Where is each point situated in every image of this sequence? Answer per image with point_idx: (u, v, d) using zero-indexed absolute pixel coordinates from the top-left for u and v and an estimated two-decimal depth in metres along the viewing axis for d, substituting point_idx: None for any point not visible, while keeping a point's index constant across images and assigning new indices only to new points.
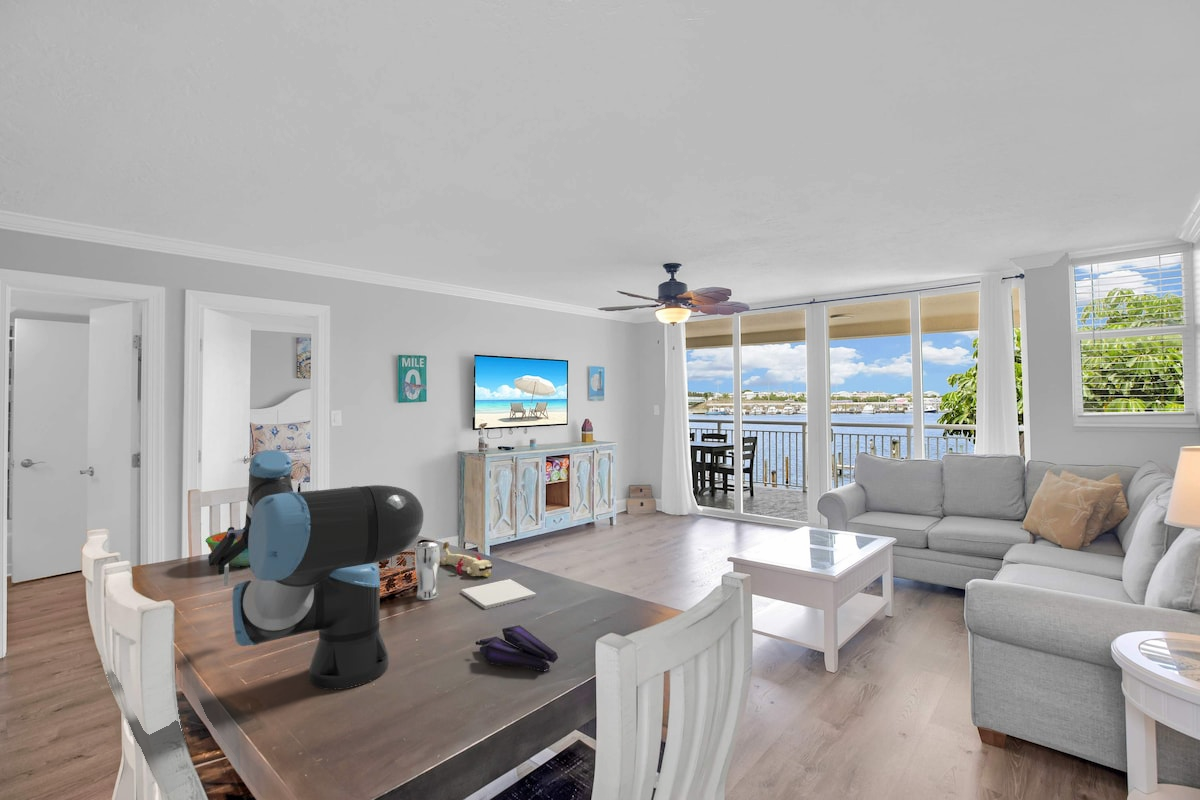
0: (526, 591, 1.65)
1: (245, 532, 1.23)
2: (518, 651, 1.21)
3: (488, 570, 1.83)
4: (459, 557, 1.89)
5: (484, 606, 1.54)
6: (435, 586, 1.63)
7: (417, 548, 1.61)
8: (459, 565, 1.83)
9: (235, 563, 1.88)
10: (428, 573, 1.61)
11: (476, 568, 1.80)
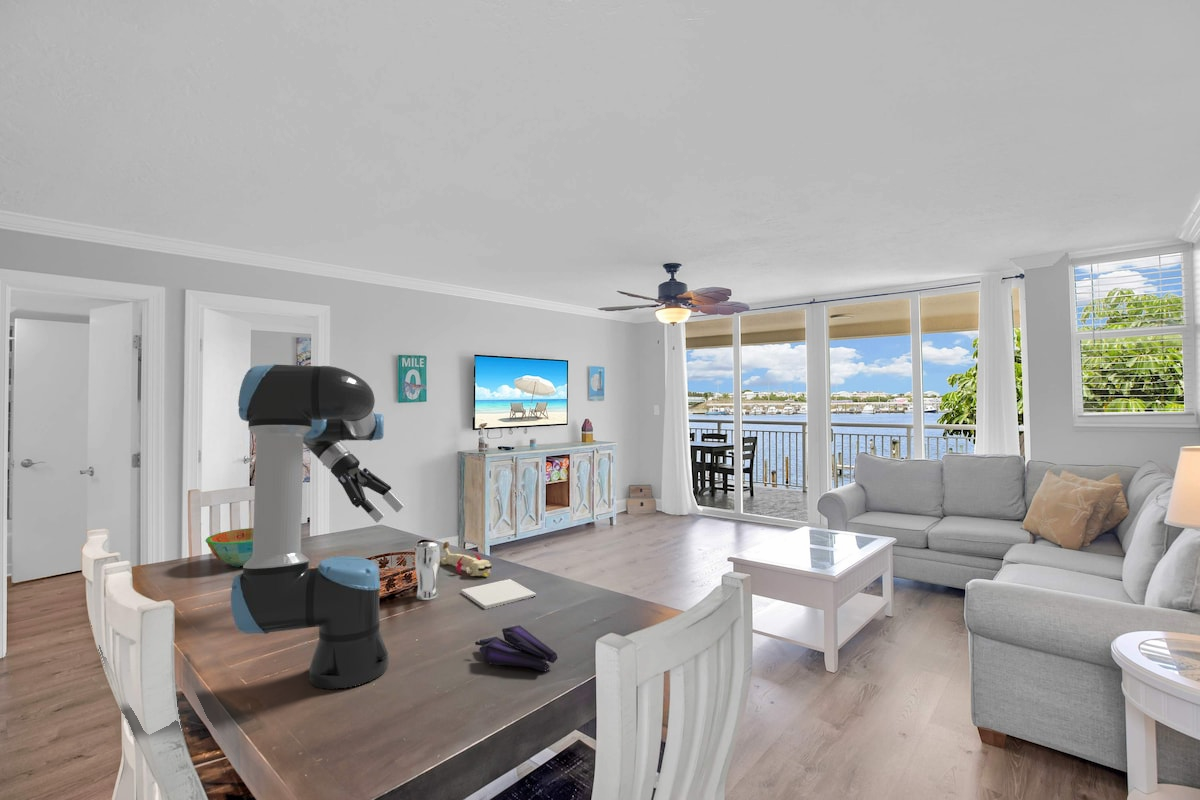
0: (526, 591, 1.65)
1: (347, 473, 1.61)
2: (518, 651, 1.20)
3: (487, 570, 1.83)
4: (459, 557, 1.89)
5: (484, 606, 1.54)
6: (435, 586, 1.63)
7: (417, 548, 1.61)
8: (458, 565, 1.83)
9: (235, 563, 1.88)
10: (428, 573, 1.61)
11: (475, 567, 1.80)
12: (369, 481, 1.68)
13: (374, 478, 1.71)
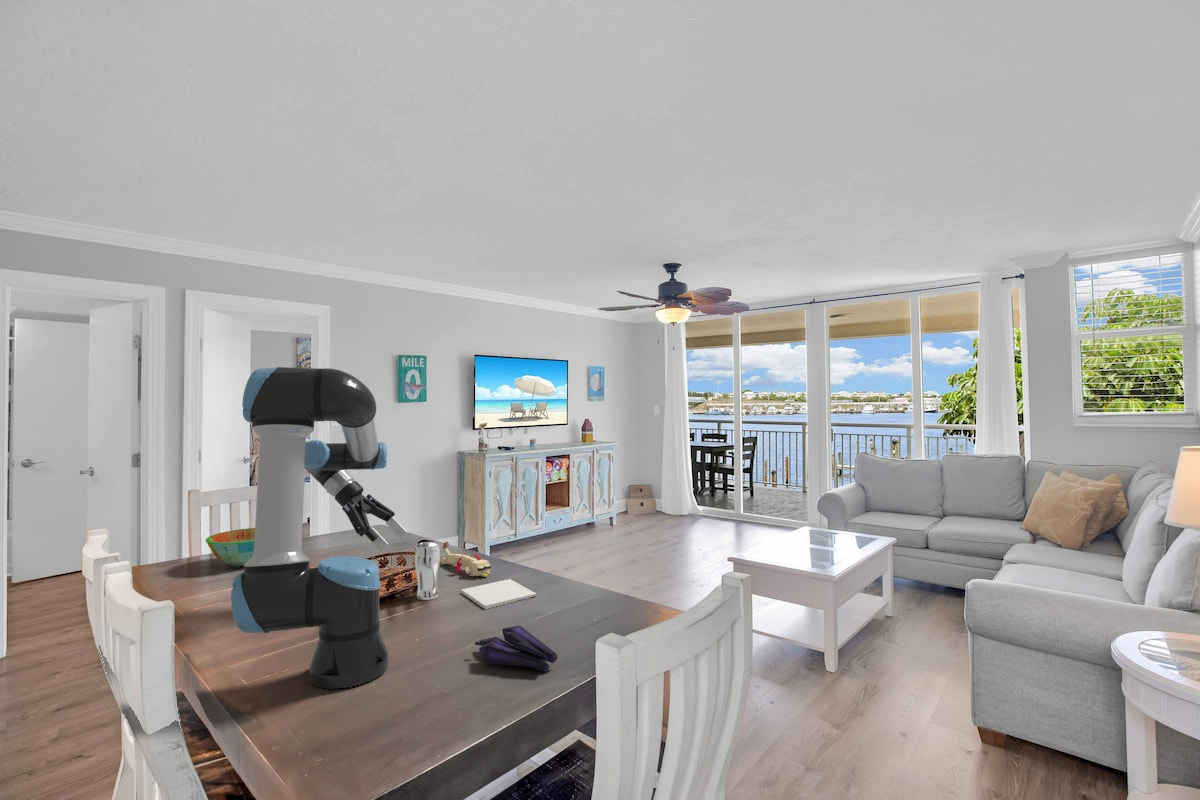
0: (526, 591, 1.65)
1: (351, 501, 1.61)
2: (518, 651, 1.20)
3: (487, 570, 1.83)
4: (458, 557, 1.89)
5: (484, 606, 1.54)
6: (435, 586, 1.63)
7: (417, 548, 1.61)
8: (458, 565, 1.83)
9: (235, 563, 1.88)
10: (428, 573, 1.61)
11: (475, 567, 1.80)
12: (373, 508, 1.68)
13: (378, 504, 1.71)
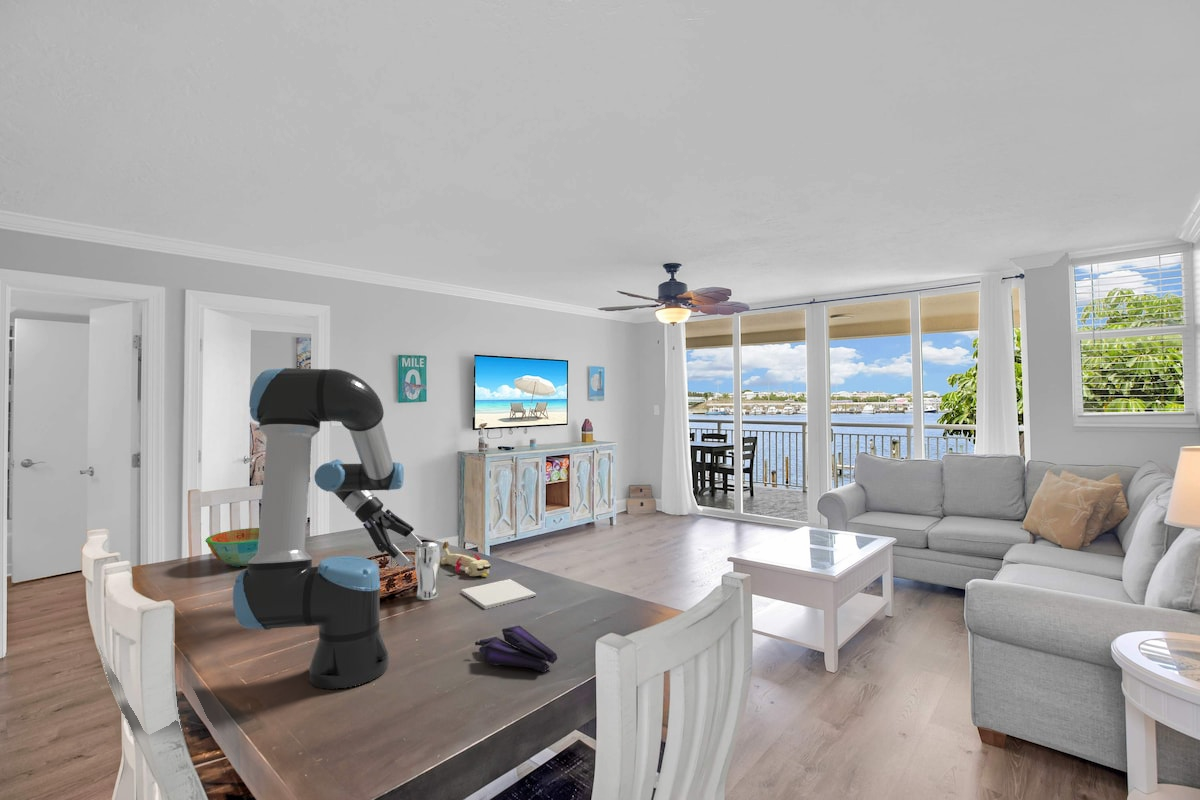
0: (526, 591, 1.65)
1: (372, 517, 1.62)
2: (517, 652, 1.20)
3: (486, 570, 1.83)
4: (458, 557, 1.89)
5: (484, 606, 1.54)
6: (435, 586, 1.63)
7: (417, 548, 1.61)
8: (457, 565, 1.84)
9: (235, 563, 1.88)
10: (428, 573, 1.61)
11: (474, 567, 1.80)
12: (393, 523, 1.68)
13: (397, 519, 1.72)
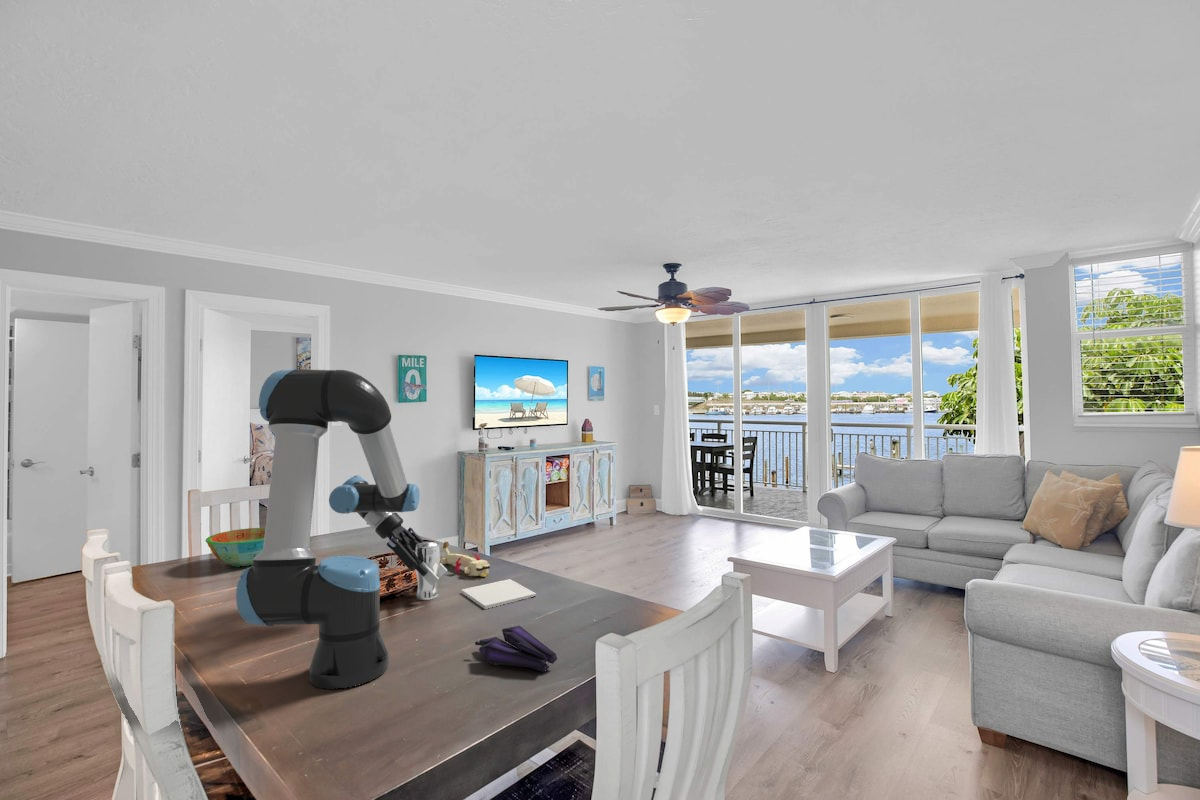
0: (526, 591, 1.65)
1: (392, 533, 1.60)
2: (517, 652, 1.20)
3: (486, 570, 1.83)
4: (458, 557, 1.89)
5: (484, 606, 1.54)
6: (435, 586, 1.63)
7: (417, 548, 1.61)
8: (457, 565, 1.84)
9: (235, 563, 1.88)
10: None
11: (474, 567, 1.80)
12: (412, 541, 1.66)
13: (417, 539, 1.69)
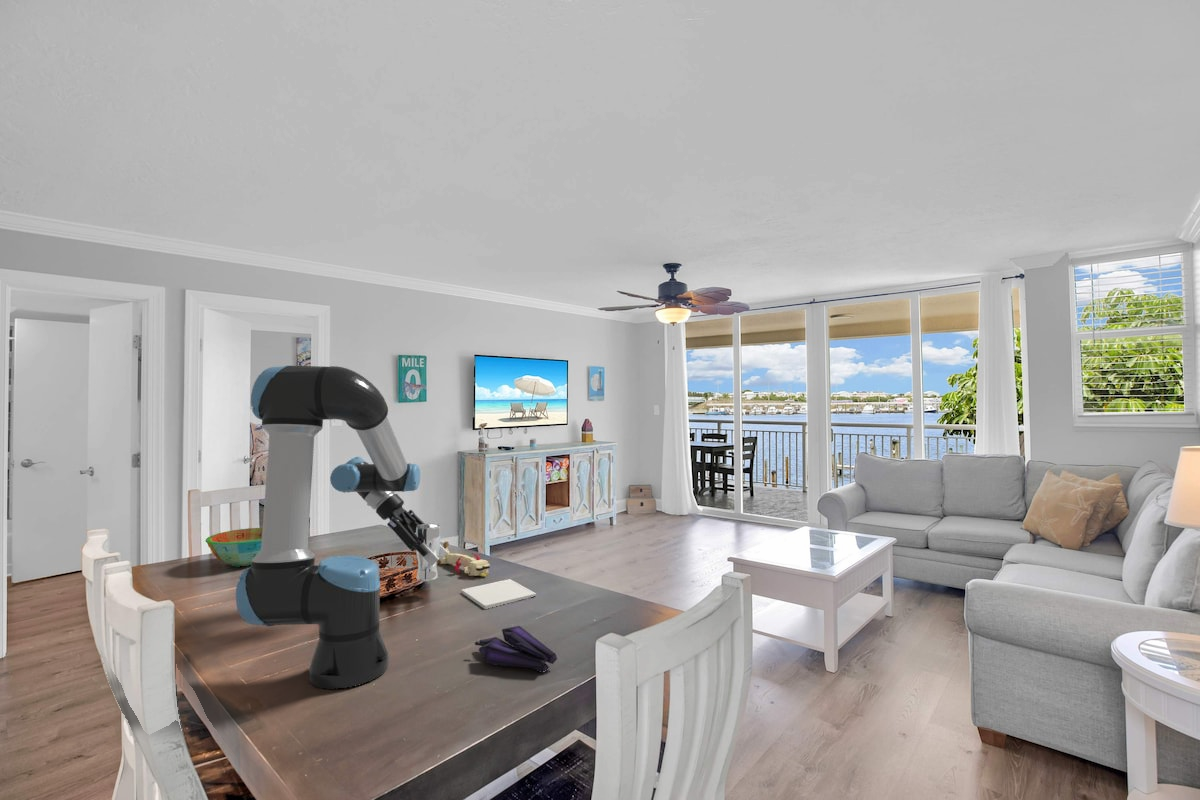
0: (526, 591, 1.65)
1: (393, 514, 1.61)
2: (517, 652, 1.20)
3: (486, 570, 1.83)
4: (458, 557, 1.89)
5: (484, 606, 1.54)
6: (435, 567, 1.63)
7: (417, 529, 1.62)
8: (457, 565, 1.84)
9: (235, 563, 1.88)
10: None
11: (473, 567, 1.80)
12: (413, 523, 1.66)
13: (418, 521, 1.70)
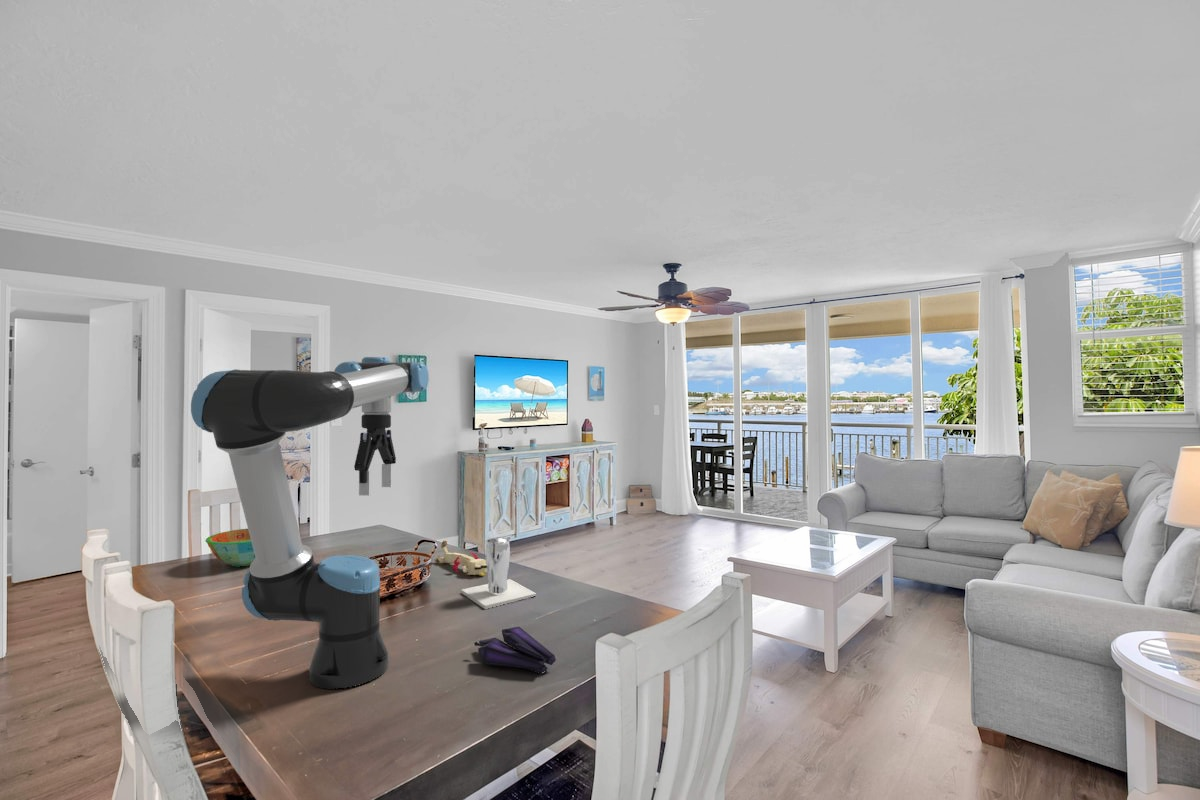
0: (526, 591, 1.65)
1: (373, 432, 1.52)
2: (516, 653, 1.20)
3: (484, 569, 1.84)
4: (456, 556, 1.90)
5: (484, 606, 1.54)
6: (506, 581, 1.64)
7: (488, 544, 1.62)
8: (455, 564, 1.85)
9: (235, 563, 1.88)
10: (500, 568, 1.62)
11: (472, 566, 1.81)
12: (383, 447, 1.59)
13: (389, 444, 1.62)
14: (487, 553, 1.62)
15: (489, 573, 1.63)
